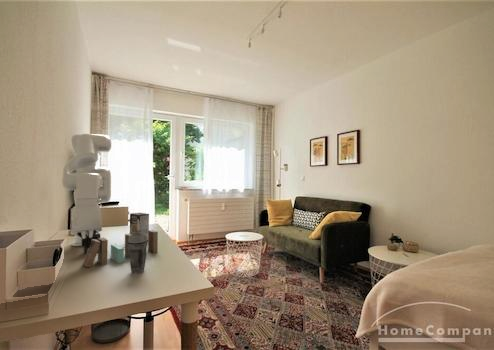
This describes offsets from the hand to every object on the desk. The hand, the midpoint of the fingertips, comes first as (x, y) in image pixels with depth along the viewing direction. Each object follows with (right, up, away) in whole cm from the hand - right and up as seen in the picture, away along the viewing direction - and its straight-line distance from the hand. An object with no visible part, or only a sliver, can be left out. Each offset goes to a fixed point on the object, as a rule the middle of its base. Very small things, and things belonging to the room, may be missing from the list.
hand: (86, 247), depth 97 cm
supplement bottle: (-9, -8, +18) cm, 21 cm away
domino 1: (0, -7, 0) cm, 7 cm away
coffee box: (+5, -9, +38) cm, 39 cm away
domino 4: (+19, -8, +20) cm, 29 cm away
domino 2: (+4, -8, +4) cm, 10 cm away
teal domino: (+12, -5, +4) cm, 14 cm away
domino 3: (+12, -8, +12) cm, 19 cm away
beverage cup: (+24, -8, -6) cm, 26 cm away
